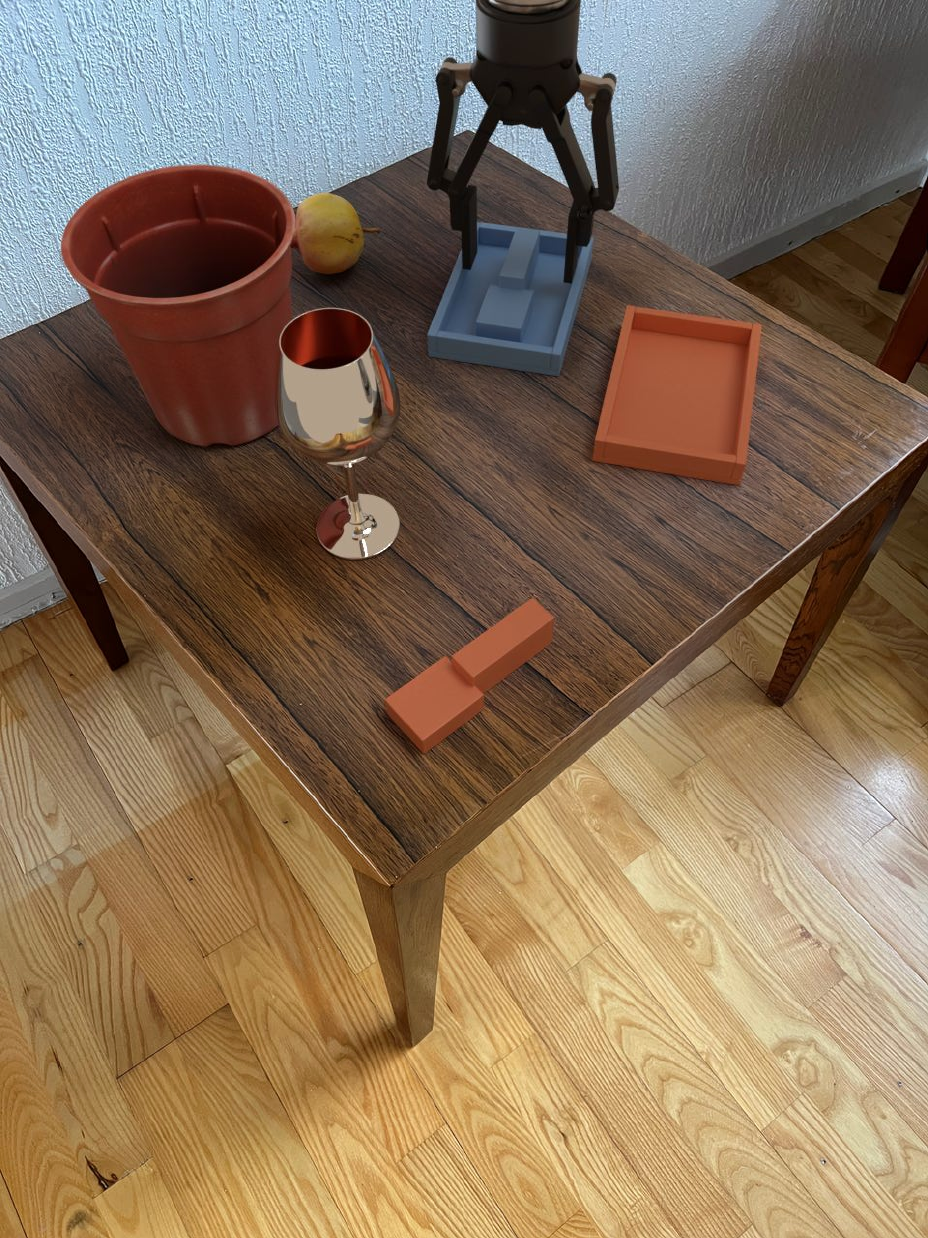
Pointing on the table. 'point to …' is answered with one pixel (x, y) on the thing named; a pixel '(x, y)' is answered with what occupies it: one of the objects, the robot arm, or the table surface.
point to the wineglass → (339, 418)
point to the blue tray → (548, 318)
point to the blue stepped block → (511, 291)
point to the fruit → (328, 233)
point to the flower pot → (192, 291)
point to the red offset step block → (468, 676)
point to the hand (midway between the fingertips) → (519, 266)
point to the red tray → (680, 395)
